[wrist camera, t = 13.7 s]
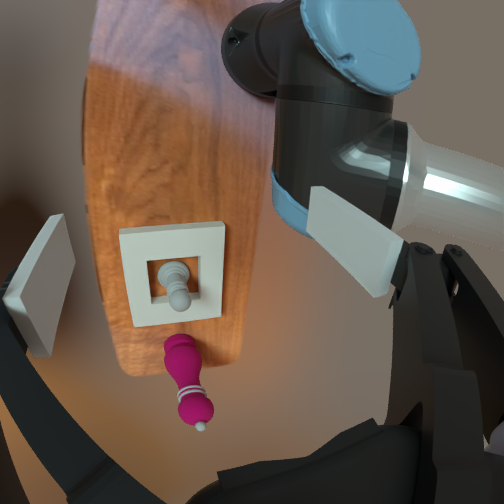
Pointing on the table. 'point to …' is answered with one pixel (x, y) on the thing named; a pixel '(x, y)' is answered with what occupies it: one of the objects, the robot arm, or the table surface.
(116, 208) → the table surface
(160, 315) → the socket board
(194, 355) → the pepper mill
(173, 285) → the chess piece
